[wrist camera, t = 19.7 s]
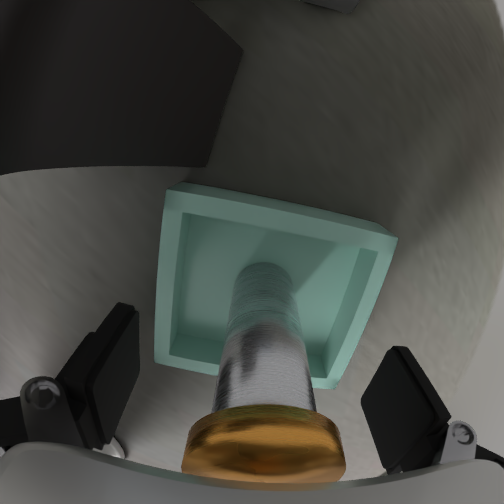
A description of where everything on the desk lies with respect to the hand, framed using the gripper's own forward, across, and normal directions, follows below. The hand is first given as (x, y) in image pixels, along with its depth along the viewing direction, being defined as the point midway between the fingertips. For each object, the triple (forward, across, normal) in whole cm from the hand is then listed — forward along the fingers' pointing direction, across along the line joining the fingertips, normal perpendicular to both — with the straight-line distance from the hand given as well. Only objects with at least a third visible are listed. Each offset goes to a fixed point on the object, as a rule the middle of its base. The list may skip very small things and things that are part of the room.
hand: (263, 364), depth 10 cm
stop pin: (+5, 0, 0) cm, 5 cm away
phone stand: (+6, +8, -9) cm, 14 cm away
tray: (+6, 0, 0) cm, 6 cm away
